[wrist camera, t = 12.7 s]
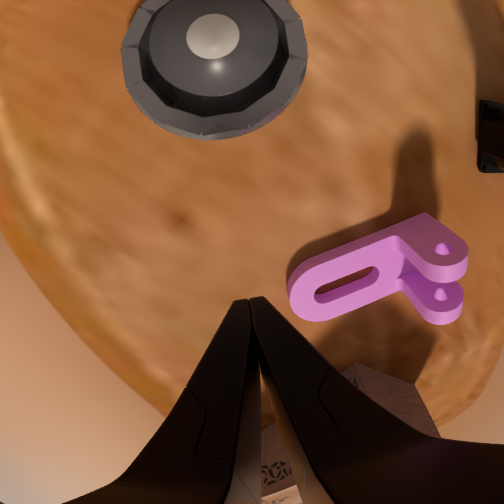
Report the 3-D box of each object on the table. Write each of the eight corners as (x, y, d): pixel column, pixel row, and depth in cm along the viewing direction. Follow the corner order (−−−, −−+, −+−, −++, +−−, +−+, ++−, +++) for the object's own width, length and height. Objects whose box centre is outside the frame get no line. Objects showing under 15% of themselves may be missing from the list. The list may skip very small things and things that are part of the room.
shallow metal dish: (292, -27, 12) (300, -39, 10) (315, 128, 17) (326, 131, 15) (116, 1, 12) (105, -8, 10) (140, 156, 17) (130, 162, 15)
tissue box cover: (294, 461, 42) (303, 508, 34) (225, 451, 37) (228, 507, 29) (413, 383, 34) (441, 438, 25) (354, 359, 29) (386, 436, 20)
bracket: (424, 211, 21) (478, 252, 15) (427, 265, 24) (470, 311, 17) (277, 269, 22) (296, 334, 16) (297, 319, 25) (316, 383, 19)
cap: (258, 3, 13) (268, -22, 9) (272, 89, 16) (287, 86, 12) (159, 19, 13) (142, -1, 9) (173, 106, 16) (158, 107, 12)
